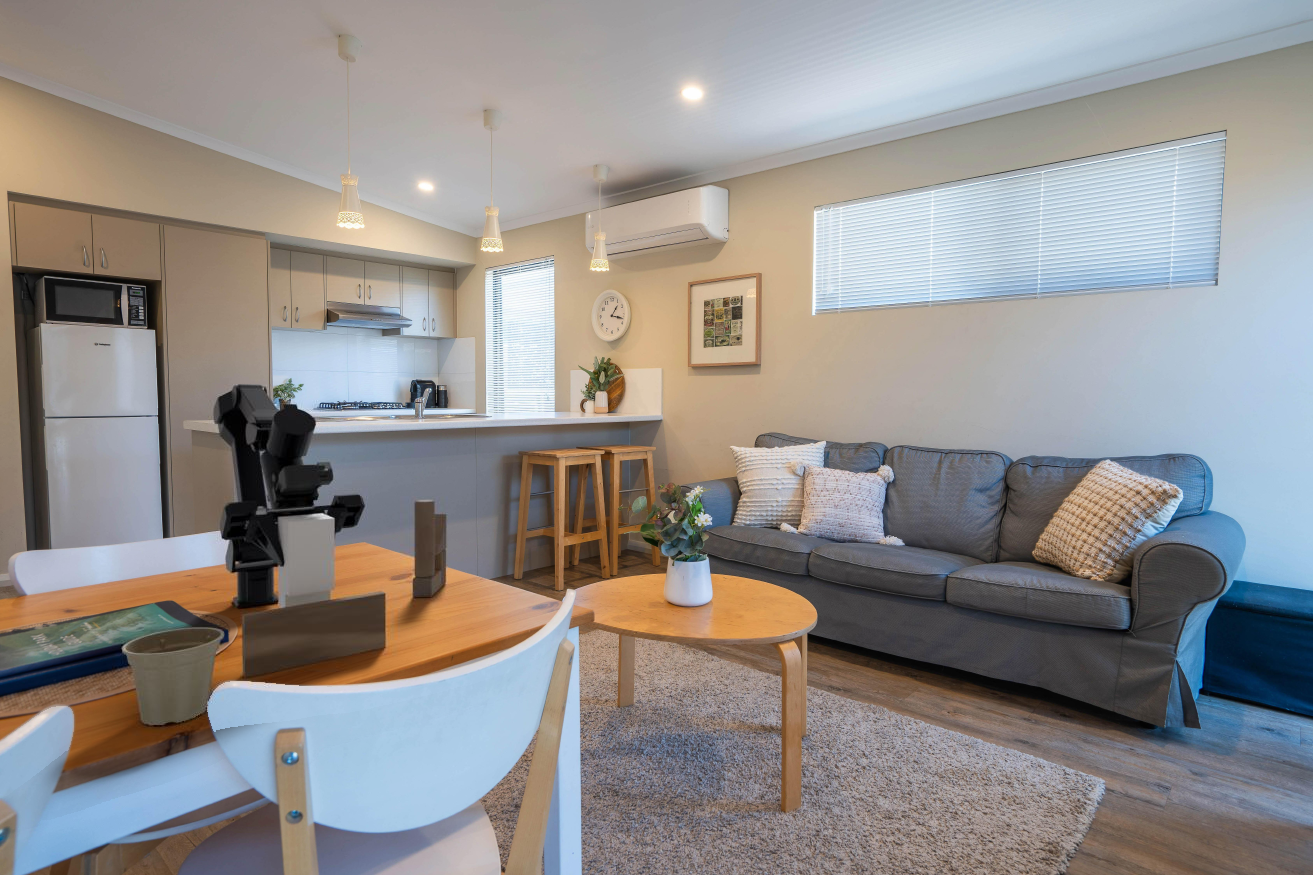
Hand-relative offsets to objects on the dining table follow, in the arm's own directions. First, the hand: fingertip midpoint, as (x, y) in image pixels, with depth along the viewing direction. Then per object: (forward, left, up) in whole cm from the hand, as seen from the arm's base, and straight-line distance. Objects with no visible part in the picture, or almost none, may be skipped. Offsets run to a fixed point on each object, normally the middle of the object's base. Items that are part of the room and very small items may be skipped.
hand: (307, 561), depth 98 cm
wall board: (+6, 0, -13) cm, 14 cm away
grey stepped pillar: (-22, +26, -13) cm, 36 cm away
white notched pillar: (0, 0, -7) cm, 7 cm away
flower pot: (+14, -16, -13) cm, 25 cm away
